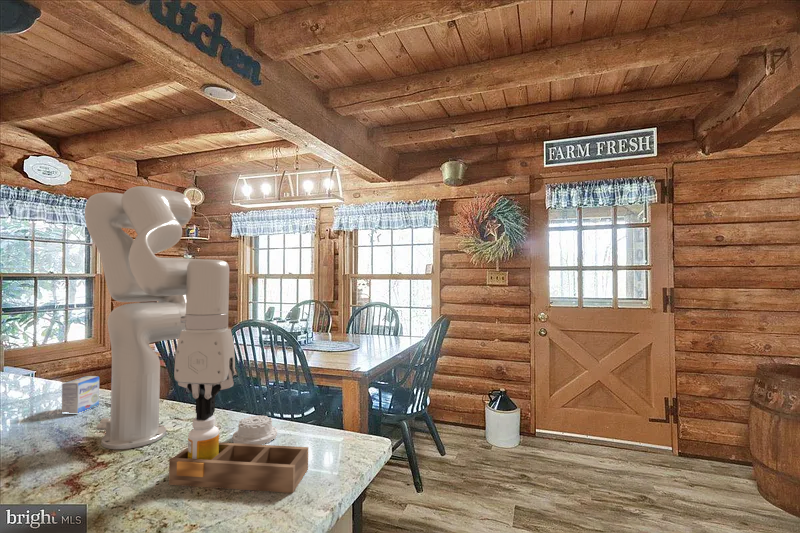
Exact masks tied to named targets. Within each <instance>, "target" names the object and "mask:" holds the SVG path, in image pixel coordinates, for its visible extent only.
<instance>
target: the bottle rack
mask: <svg viewBox="0 0 800 533" xmlns="http://www.w3.org/2000/svg"><path fill="white" fill-rule="evenodd" d="M168 464H169V465H168V468H169V469H168V485H169V486H180V487H181V486H182V487H196V488H208V489H209V488H211V489H228V490H240V491H242V490H243V491H258V492H259V491H260V492H273V493H287V494H293V493H294V492H295V491H296V489H297V487H298V486H299V484H300V483H301V481H302V480H303V479H304V477H305V475H306V474H307V473H308V471H307V470H309V447H308V446H295V445H294V446H293V445H292V446H291V445H275V444H274V445H273V444H263V445H258V444H240V443H234V442H220V441H219V454H218V455H217V456H215V457H214V458H213V459H212V460H203V459H188V447H186V448H185V449H184V450H182V451H181V452H179V453H177V455H176V454H175V456H174V457H171V459H169V461H168ZM305 473H306V474H305ZM303 476H304V477H303Z"/></svg>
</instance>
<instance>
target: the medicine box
mask: <svg viewBox="0 0 800 533" xmlns="http://www.w3.org/2000/svg"><path fill="white" fill-rule="evenodd" d="M61 384H62V385H61V386H62V387H61V388H62V389H61V413H62V412H69V413H79V412H82V411H85V410H87V409H90V408H92V407H94V406H97V405H98V406H99V405H100V376H98V375H97V376H96V375H87V376H86V375H85V376H82V377H80V378H76V379H73V380H70V381H67V382H64V383H61ZM98 406H97V407H98ZM94 408H95V407H94ZM92 409H93V408H92ZM90 410H91V409H90Z"/></svg>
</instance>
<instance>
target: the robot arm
mask: <svg viewBox="0 0 800 533" xmlns="http://www.w3.org/2000/svg"><path fill="white" fill-rule="evenodd" d="M192 206H193V205H192V204H191V202H190V199H189V198H188V197H187V196H186V195H185V194H183V193H182V192H178V191H174V190H169V189H163V188H156V187H151V186H143V185H141V186H140V185H138V186H133V187H130V188H128V189H127V190H126V191H125V192H124V193H120V192H119V193H118V192H98V193H95V194H93V195H91V196H90V197H89V198H88V199H87V201H86V203H85V208H84V220H85V225H86V229H87V231H88V233H89V236H90V239H92V241H93V243H94V245H95V246H96V249H97V250H98V252H99V254H100V260H101V265H102V268H103V269H102V270H103V274H104V280H105V282H106V288H107V290H108V294H109V295H110V297H111V299H113V300H114V301H117V302H120V303H126V304H123V305H122V304H121V305H119V306H117V307H115V308H114V309H112V310H111V312H110V313H109V315H108V318H107V329H108V330H107V331H108V336H109V342H110V348H111V384H110V385H111V386H110V387H111V390H110V391H111V392H110V393H111V394H110V417H104V418H102V419H101V420H100V421H99V423H98V424H97V425H96V429H97V431H105V435H104V436H103V437H102V438H101V446H102V447H103V448H105V449H110V450H127V449H133V448H139V447H144V446H147V445H150V444H152V443H155V442H157V441H159V440H161V439H162V438H164V437H165V435H166V433H167V428H166V426H164V425H162V424H159V423H160V391H161V390H160V387H161V383H160V382H161V360H160V357H159V355H158V354H157V353H156V352H155V351H154V349H153V348H152V347H151V346H150V344H152V343H156V342H162V341H163V342H164V341H170V340H171V341H172V340H178V341H177V344H176V352H175V361H174V371H173V372H174V376H173V377H174V380H175V382H177V385H178V386H179V387H182V388H185V389H188V391H189V392H191V394H192V397H193V399H195V414H196V419H197V420H200V419H202V420H206V419H208V418H209V417H211V416H212V415H214V413H215V409H216V396H217V395H218V394H219V392H221V391H222V390H227V389H230V388H232V387H234V383H235V382H234V378H233V377H234V376H235V371H236V370H235V368H236V358H235V357H236V355H235V344H234V337H233V334H232V329H231V328H229V307H230V306H229V301H230V299H229V298H230V265H229V263H228V262H227V261H226V260H221V259H202V258H181V257H159V256H156V254H159V253H160V252H164V251H166V250H168V249H170V248H173V247H174V246H175V245H176V244H178V243H179V242H180V240H181V239H182V236H183V228H182V227H183V226H185V225H187V224H188V223H189V222H190V220H191V218H192V216H193V214H192V213H193V207H192ZM123 229H130V230H134V231H135V233H136V235H137V236H136V237H135V238H133V237H132V236H130V234H128V233H127V232H126V231H124V230H123Z"/></svg>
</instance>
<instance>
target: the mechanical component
mask: <svg viewBox="0 0 800 533" xmlns="http://www.w3.org/2000/svg"><path fill="white" fill-rule="evenodd" d="M237 426H238V427H237V428H238V429H237V430H235V431H234V432H233V433H232V443H240V444H258V445H262V444H263V445H266V444H269V443H271V442H272V441H271V440H273V439H274V440H276V439H277V437H278V429H277V428H276V427H275V426H273V420H272V417H268V415H261V414H260V415H251V416H249V417H244V418H242V419H241V420H239V421H238V425H237ZM276 436H277V437H276ZM274 440H273V441H274ZM270 441H271V442H270ZM268 442H269V443H268ZM265 443H266V444H265Z"/></svg>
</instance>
